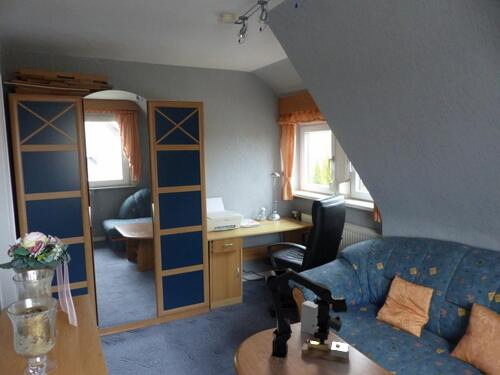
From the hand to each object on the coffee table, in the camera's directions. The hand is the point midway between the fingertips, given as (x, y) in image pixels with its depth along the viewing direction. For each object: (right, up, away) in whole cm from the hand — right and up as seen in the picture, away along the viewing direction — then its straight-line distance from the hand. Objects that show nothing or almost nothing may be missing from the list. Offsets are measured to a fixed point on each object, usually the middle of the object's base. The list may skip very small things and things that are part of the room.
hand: (322, 344), depth 173 cm
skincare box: (-2, -2, +21) cm, 21 cm away
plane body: (+1, -5, -3) cm, 5 cm away
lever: (-3, -1, -2) cm, 4 cm away
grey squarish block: (+7, -2, -5) cm, 9 cm away
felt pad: (+4, -4, +5) cm, 7 cm away
